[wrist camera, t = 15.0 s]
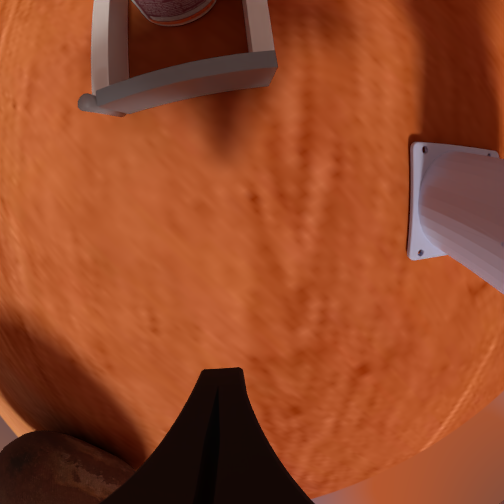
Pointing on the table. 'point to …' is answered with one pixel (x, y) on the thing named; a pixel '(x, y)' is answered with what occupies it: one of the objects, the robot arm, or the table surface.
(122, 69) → the channel
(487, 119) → the table surface
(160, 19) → the pill bottle
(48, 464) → the pottery
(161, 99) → the channel cover
